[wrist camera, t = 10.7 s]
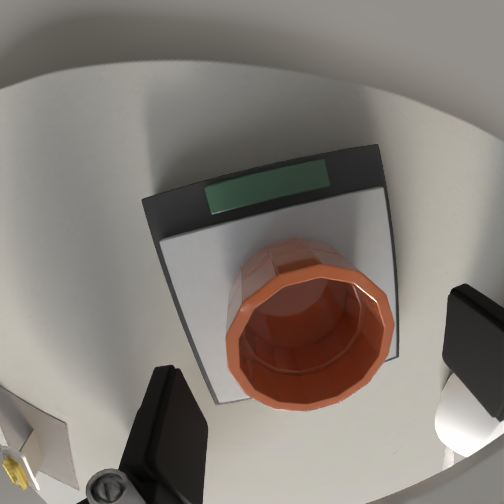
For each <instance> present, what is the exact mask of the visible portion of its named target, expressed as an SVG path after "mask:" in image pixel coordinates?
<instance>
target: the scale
mask: <svg viewBox="0 0 504 504" xmlns="http://www.w3.org/2000/svg"><path fill="white" fill-rule="evenodd" d="M142 204H143V207H144V211H145V215H146V218H147V221H148V225H149V228H150V232H151V235H152V238H153V241H154V245H155V248H156V251H157V254H158V257H159V260H160V263H161V266H162V269H163V272H164V275H165V278H166V281H167V284H168V287H169V290H170V293H171V296H172V298H173V301H174V304H175V307H176V309H177V312H178V315H179V318H180V320H181V323H182V326H183V328H184V331H185V333H186V336H187V338H188V341H189V343H190V346H191V348H192V351H193V353H194V356H195V358H196V361H197V363H198V366H199V368H200V370H201V373H202V375H203V377H204V380H205V382H206V384H207V386H208V389H209V391H210V393H211V396H212V398H213V400H214V402H215V404H216V405H220V404H227V403H233V402H238V401H244V400H249V399H253V398H251V397H249V396H247V395H246V394H245V393H244V392H243V390H242V389H241V387H240V386H239V385H238V383H237V382H236V381H235V379H234V378H233V376H232V375H231V374H230V372H229V371H228V369H227V355H226V341H225V335H226V322H227V310H228V298H229V291H230V289H231V287H232V285H233V283H234V280H235V278H236V276H237V274H238V272H239V270H240V268H241V266H242V265H243V264H244V263H245V262H247V261H248V260H249V259H250V258H252V257H253V256H254V255H255V254H257V253H258V252H259V251H260V250H262V249H263V248H264V247H265V246H268V245H270V244H274V243H278V242H282V241H286V240H290V239H294V238H303V239H308V240H313V241H317V242H322V243H327V244H328V245H330V246H331V247H333V248H334V249H335V250H336V251H337V252H339V253H340V254H341V255H342V256H343V257H345V258H346V259H347V260H348V261H349V262H350V263H352V264H353V265H354V266H355V267H356V268H357V269H359V270H360V271H361V272H362V273H363V274H364V275H365V276H367V277H368V278H369V279H370V280H371V281H372V282H373V283H375V284H376V285H377V286H378V287H379V288H380V289H381V290H382V291H384V292H385V294H386V295H387V298H388V302H389V305H390V308H391V312H392V315H393V319H394V322H395V327H394V332H393V337H392V341H391V346H390V350H389V354H388V357H387V358H386V360H385V361H384V362H387V361H389V360H392V359H395V358H397V357H399V303H398V283H397V268H396V256H395V246H394V236H393V228H392V220H391V212H390V206H389V199H388V193H387V187H386V181H385V175H384V170H383V165H382V160H381V155H380V150H379V146H378V144H373V145H367V146H361V147H354V148H349V149H343V150H337V151H332V152H326V153H321V154H316V155H311V156H306V157H301V158H296V159H291V160H286V161H282V162H277V163H273V164H268V165H264V166H260V167H255V168H251V169H247V170H243V171H239V172H235V173H231V174H227V175H223V176H219V177H216V178H212V179H208V180H205V181H201V182H197V183H194V184H190V185H187V186H183V187H180V188H176V189H173V190H170V191H166V192H163V193H160V194H157V195H153V196H150V197H147V198H144V199H142Z"/></svg>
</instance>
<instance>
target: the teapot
mask: <svg viewBox="0 0 504 504" xmlns="http://www.w3.org/2000/svg"><path fill="white" fill-rule="evenodd" d="M435 429H436V432H437V434H438V437H439V438H440V440H441V441H442V442H443V443H444V444H446V449H445V453H444V458H443V471H444V470H445V469H447V468H449V467H451V466H453V457H454V451H455V452H457V453H459V454H461V455H463V456H466V457H468V456H470V455H472V454H473V453H475V452H476V451H478V450H480V449H481V448H483V447H484V446H486V445H487V444H489V443H490V442H492V441H493V440H495V439H496V438H498V437H499V436H500V435H502V434H503V433H504V420H503V421H502V422H499V421H498V420H497V419H496V417H495V418H493V417H491V416H490V415H489V413H488V412H487V411H486V410H485V409H484V407H483V406H482V405H481V404H480V403H479V401H478V400H477V399H476V398H475V397H474V395H473V394H472V393H471V392H470V391H469V390H468V388H467V387H466V386H465V385H464V384H463V383H462V381H461V380H460V379H459V378H458V377H457V376H456V375H455V373H454V372H453V373H452V374H451V376H450V377H449V379H448V381H447V383H446V385H445V387H444V389H443V392H442V394H441V398H440V400H439V403H438V406H437V410H436V414H435Z"/></svg>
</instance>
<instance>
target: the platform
mask: <svg viewBox="0 0 504 504" xmlns="http://www.w3.org/2000/svg"><path fill="white" fill-rule="evenodd" d="M0 426H1V429H2V432H3V434H4V437H5V439H6V441H7V444H8V446H9V447H7V446H1V448H0V451H1V453H2V455H3V457H4V459H5V460H4V462H3V463H2V464H3V466H4V468H5V470H6V472H7V473H8V475H9V477H10V478H11V480H12V482H13V483H16V481H17V480H18V481H19V482H20V483H19V482H18V481H17V483H19V485H20V486H21V487H22V488H23V490H25V489H26V487H27V485H28V486H29V487H30V488H32V489H34V490H36V491H38V490H39V486H38V484H37V482H36V480H35V476H36V474H37V473H38V471H41V472H43V473H44V474H46V475H48V476H50V477H52V478H54V479H56V480H58V481H60V482H62V483H64V484H66V485H68V486H70V487H72V488H75V489H77V490H79V487H78V483H77V479H76V475H75V471H74V466H73V461H72V456H71V451H70V445H69V439H68V433H67V426H66V424H65V423H63V422H61V421H59V420H57V419H55V418H53V417H51V416H49V415H47V414H45V413H44V412H42V411H40V410H38V409H36V408H35V407H33V406H31V405H29V404H28V403H26V402H24V401H23V400H21V399H19V398H18V397H16V396H14V395H13V394H11V393H10V392H8V391H7V390H5V389H4V388H2V387H1V386H0ZM17 483H16V484H17ZM16 484H15V485H16ZM19 485H17V486H18V487H20V486H19ZM21 487H20V488H21ZM22 488H21V489H22Z"/></svg>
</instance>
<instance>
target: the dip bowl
mask: <svg viewBox="0 0 504 504" xmlns="http://www.w3.org/2000/svg"><path fill="white" fill-rule="evenodd" d="M394 327H395V322H394V319H393V315H392V312H391V308H390V305H389V302H388V298H387V295H386V294H385V292H384V291H382V290H381V289H380V288H379V287H378V286H377V285H376V284H375V283H373V282H372V281H371V280H370V279H369V278H368V277H367V276H365V275H364V274H363V273H362V272H361V271H360V270H359V269H357V268H356V267H355V266H354V265H353V264H352V263H350V262H349V261H348V260H347V259H346V258H345V257H343V256H342V255H341V254H340V253H339V252H337V251H336V250H335V249H334V248H333V247H331V246H330V245H328V244H327V243H322V242H317V241H313V240H308V239H303V238H294V239H290V240H286V241H282V242H278V243H274V244H270V245H268V246H265V247H264V248H263V249H262V250H260V251H259V252H258V253H257V254H255V255H254V256H253V257H252V258H250V259H249V260H248V261H247V262H245V263H244V264H243V265H242V266H241V268H240V270H239V272H238V274H237V276H236V278H235V280H234V283H233V285H232V287H231V289H230V291H229V298H228V310H227V322H226V335H225V341H226V355H227V369H228V371H229V372H230V374H231V375H232V376H233V378H234V379H235V381H236V382H237V383H238V385H239V386H240V387H241V389H242V390H243V392H244V393H245V394H246V395H247V396H249V397H251V398H253V399H255V400H257V401H259V402H261V403H263V404H265V405H267V406H269V407H271V408H273V409H277V410H290V411H311V410H315V409H319V408H322V407H326V406H329V405H333V404H336V403H339V402H342V401H343V400H345V399H346V398H348V397H349V396H351V395H352V394H354V393H355V392H356V391H358V390H359V389H361V388H362V387H364V386H365V385H366V384H368V382H370V381H371V379H372V378H373V376H374V375H375V374H376V372H377V371H378V370H379V368H380V367H381V365H382V364H383V363H384V361H385V360H386V358H387V357H388V354H389V350H390V346H391V341H392V337H393V332H394Z"/></svg>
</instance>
